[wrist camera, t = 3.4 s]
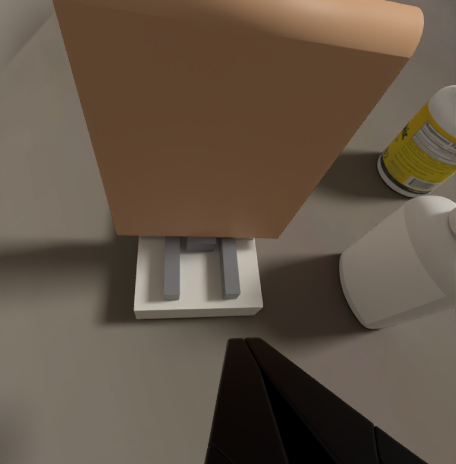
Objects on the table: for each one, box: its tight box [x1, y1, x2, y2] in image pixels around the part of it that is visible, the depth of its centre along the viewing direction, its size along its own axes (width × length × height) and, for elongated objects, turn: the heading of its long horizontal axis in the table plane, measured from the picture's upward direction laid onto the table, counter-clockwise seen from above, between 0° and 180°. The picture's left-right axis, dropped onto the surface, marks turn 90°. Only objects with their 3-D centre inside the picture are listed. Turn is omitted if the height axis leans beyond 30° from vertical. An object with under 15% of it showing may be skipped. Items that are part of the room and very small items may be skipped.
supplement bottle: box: [377, 85, 456, 197], centre depth 23 cm, size 5×5×10 cm
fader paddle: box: [53, 0, 424, 251], centre depth 13 cm, size 2×9×13 cm, turn 94°
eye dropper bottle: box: [339, 196, 456, 329], centre depth 16 cm, size 4×6×12 cm
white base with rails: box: [134, 236, 263, 319], centre depth 20 cm, size 15×7×3 cm, turn 4°
